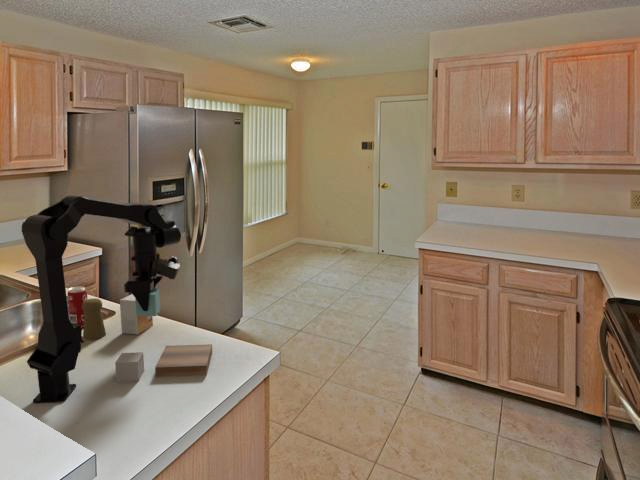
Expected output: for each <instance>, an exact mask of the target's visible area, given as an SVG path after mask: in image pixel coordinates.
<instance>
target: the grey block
mask: <svg viewBox="0 0 640 480" xmlns="http://www.w3.org/2000/svg"><path fill="white" fill-rule="evenodd" d="M114 364H115V376H116V383H123V382H125V383H126V382H127V383H128V382H140V380H141V378H142V377H143V374H144V372H145V359H144V352H143V351H142V352H140V351H139V352H137V351H136V352H121V353H120V355H119V356H118V358H117V359H116V361H115V363H114Z"/></svg>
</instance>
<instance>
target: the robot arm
mask: <svg viewBox="0 0 640 480" xmlns="http://www.w3.org/2000/svg"><path fill="white" fill-rule="evenodd" d="M85 215H90V216H97V217H98V216H99V217H105V218H113V219H117V220H120V221H123V222H125V223H128V224H131V226H130V227H129V229H127V230H126V232H125V233H124V236H125V237H130V238H132V250H133V251H132V252H133V255H131V256H130V257H131V259H130V260H131V262H133V266H134V267H133V268H134V270H133V271H132V273H131V274H132V276H131V278H129V280H127V281H126V283H124V286H123V287H124V292H125V293H131V294H133V295H134V297H135V298H136V300H137V301H138V303H139V305H140V306H141V308H142V309H143V311H148V307H149V299H150V292H151V291H153V290H154V289H157V286H158V284H159V283H160V282H161V281H162V279H163V278H164V277H166V278H168V279H169V280H175V279H176V278H177V276H178V274H179V272H180V271H179V270H180V268H181V263H180V262H178V257H176V256H170V257H169V259H167V258H165V259H163V258H161V253H159V252H157V251H158V250H157V248H164V247H165V248H166V247H169V246H173V245H177V244H179V243H180V241H181V238H182V234H181V233H182V232H180V229H179V228H178V226H176V221H174V220H165V219H164V218H163V217H162V215H161V214H160V212H159V209H158V207H157V205H155V204H151V203H142V202H141V203H140V202H126V203H125V202H124V203H118V202H112V201H105V200H99V199H94V198H88V197H85V196H82V195H72V194H70V195H67V196H65V197H63V198H62V199H61V200H60V201H58V202H56V203H54V204H52V205H50V206H48V207H47V208H44V209H42V210H41V211H39V212H38V213H37V214H33V215H29V216H28V217H27V218H26V219H25V221H23V222H22V225H21V233H22V237H23V239H24V242H25V246H26V247H27V249H28V250H29V252H30V253H31V255H32V256H33V258H34V261H35V266H36V275H37V281H38V282H37V283H38V288H39V297H40V304H41V312H42V313H41V314H42V320H43V322H42V325H41V328H40V330H39V332H38V335H37V336H38V337H37V346H36V347H35V349H34V350H33V351H32V353H31V354H30V355H29V358H28V359H27V360H26V363H27V365H28V367H29V368H30V369H32V370H35V371H37V381H38V390H39V393H38V394H36V396H35V397H34V398H33V399H32V402H33V403H34V404H35V403H38V404H39V403H53V402H55V403H57V402H65V401H66V400H67V399H68V398H69V396H70V395H71V394H72V393H73V391H74V390H75V389H76V387H77V384H76V383H70V375H69V372H70V371H73V370H75V369H76V365H77V361H78V356H79V353H81V351H82V344H84V342H85V341H84V339H83V332H82V331H83V328H81V326H80V325H77V324H73V323H71V321H70V316H69V305H68V295H67V289H66V280H65V279H66V278H65V273H64V272H65V271H64V264H63V263H64V261H63V255H64V253H65V251H66V250H67V249H66V248H67V247H68V242H69V241H68V239H69V234H70V233H71V232H72V231H74V229H75V228H77V226H78V225H79V223H80V221H81V219H82V217H84V216H85ZM132 225H136V226H132ZM138 226H140V228H139V227H138Z"/></svg>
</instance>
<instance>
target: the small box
mask: <svg viewBox="0 0 640 480" xmlns="http://www.w3.org/2000/svg"><path fill="white" fill-rule="evenodd" d="M119 310H120V311H119V312H120V326H121V333H122V334H128V335H140V334H141V333H144V331H146V330H147V329H149V328H151V327H152V326H154V324H153V323H154V322H153V321H154V320H153V317H154V316H139V317H136V301H135V297H134V295H133V294H132V293H131V294H129V295H127V296H125V297H123V298H121V299H119Z"/></svg>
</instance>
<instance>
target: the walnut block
mask: <svg viewBox="0 0 640 480" xmlns="http://www.w3.org/2000/svg"><path fill="white" fill-rule="evenodd" d="M212 355H213V344H210V343H209V344H184V345H183V344H181V345H180V344H177V345H165V347H164V349H163V351H162V353H161V355H160V357H159V359H158V361H157V363H156V365H155V368H154V371H155V372H154V373H155V378H166V377H167V378H168V377H172V378H173V377H192V376H193V377H195V376H207V375H208V371H209V367H210V364H211V363H210V362H211V359H212Z"/></svg>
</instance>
